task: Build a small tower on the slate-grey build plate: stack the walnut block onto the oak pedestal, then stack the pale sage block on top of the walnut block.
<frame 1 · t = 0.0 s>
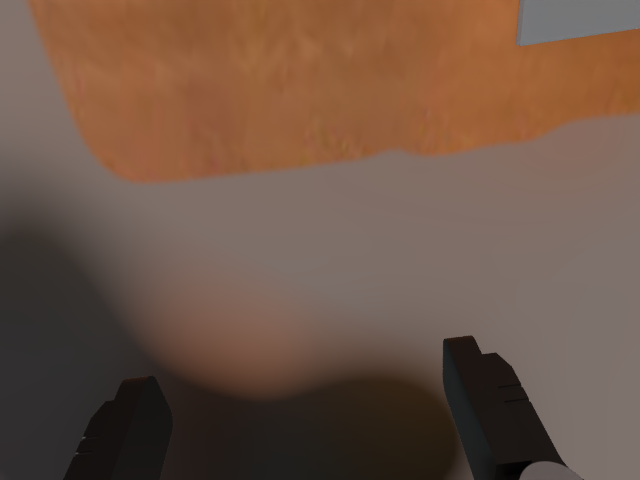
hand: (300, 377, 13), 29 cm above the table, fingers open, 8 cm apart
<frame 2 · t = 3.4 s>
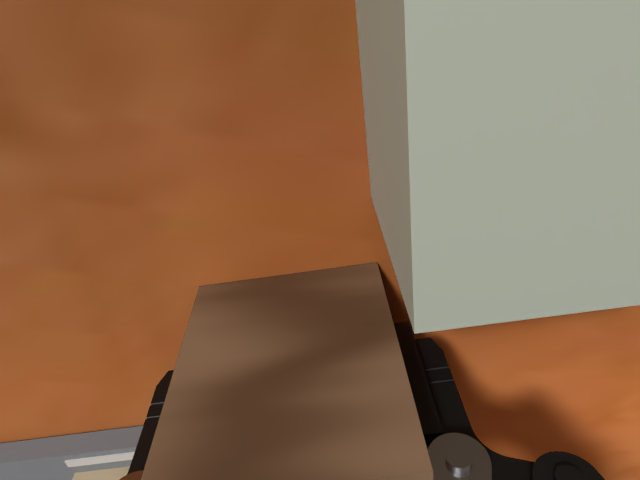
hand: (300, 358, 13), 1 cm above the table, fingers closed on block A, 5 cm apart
block A: (301, 339, 14), on the table, touching gripper
block B: (473, 81, 10), on the table
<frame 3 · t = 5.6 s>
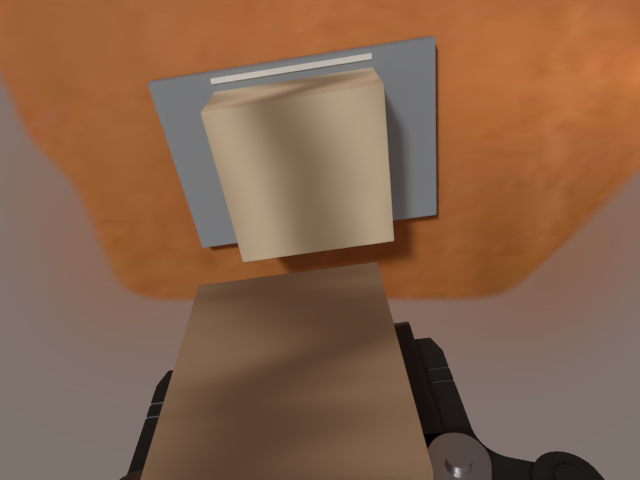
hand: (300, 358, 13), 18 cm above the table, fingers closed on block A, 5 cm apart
pedestal: (305, 155, 28), resting on build plate
block A: (301, 339, 14), point 17 cm above the table, touching gripper
build plate: (305, 150, 28), on the table
when the fingers open (7 cm above the table, at t = 8.0 s): block A drops 1 cm, resting on pedestal.
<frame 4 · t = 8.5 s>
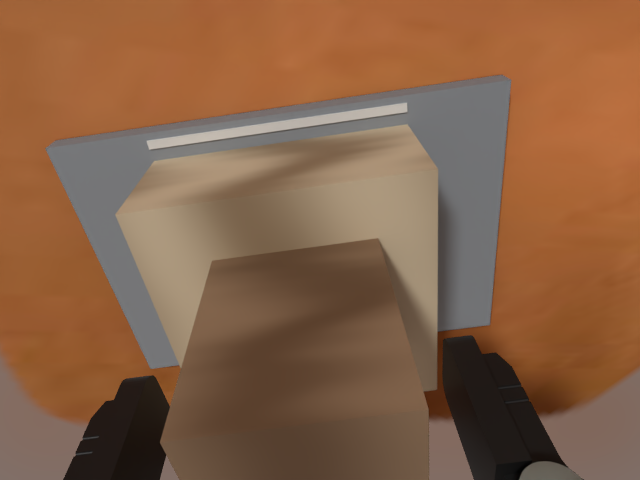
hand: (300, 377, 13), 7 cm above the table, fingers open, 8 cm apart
pedestal: (299, 249, 18), resting on build plate
block A: (306, 313, 15), point 5 cm above the table, touching pedestal
build plate: (299, 239, 19), on the table
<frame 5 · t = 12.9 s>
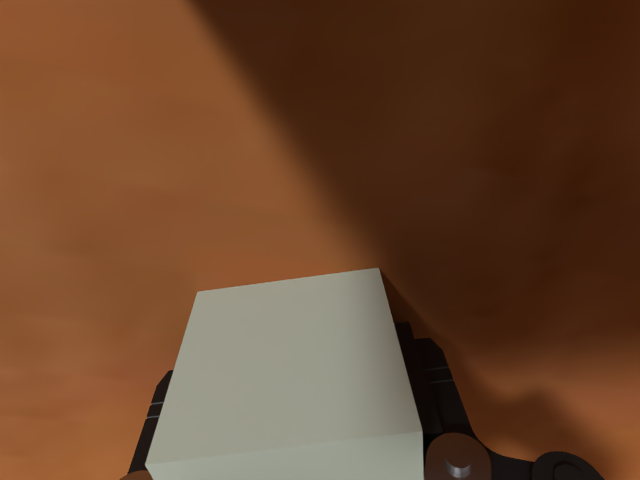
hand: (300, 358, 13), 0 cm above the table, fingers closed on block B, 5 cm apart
block B: (301, 345, 14), on the table, touching gripper
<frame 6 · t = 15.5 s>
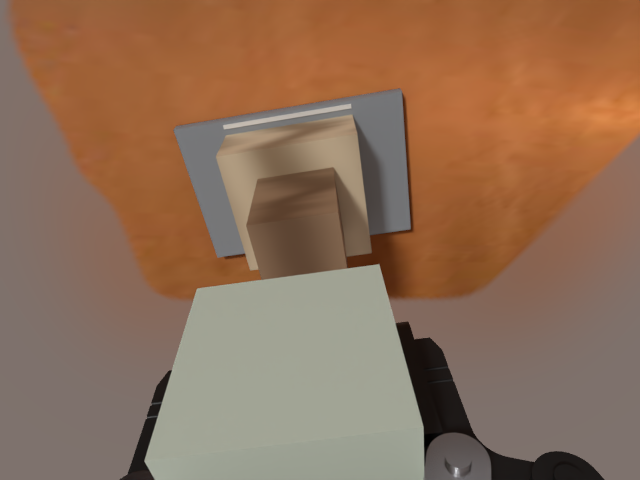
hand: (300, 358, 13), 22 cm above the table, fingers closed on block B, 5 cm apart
pedestal: (300, 182, 34), resting on build plate
block A: (302, 206, 30), point 5 cm above the table, touching pedestal
block B: (301, 342, 14), point 22 cm above the table, touching gripper
build plate: (300, 178, 35), on the table
when the fingers open (12 cm above the table, at t = 18.4 s): block B drops 1 cm, resting on block A.
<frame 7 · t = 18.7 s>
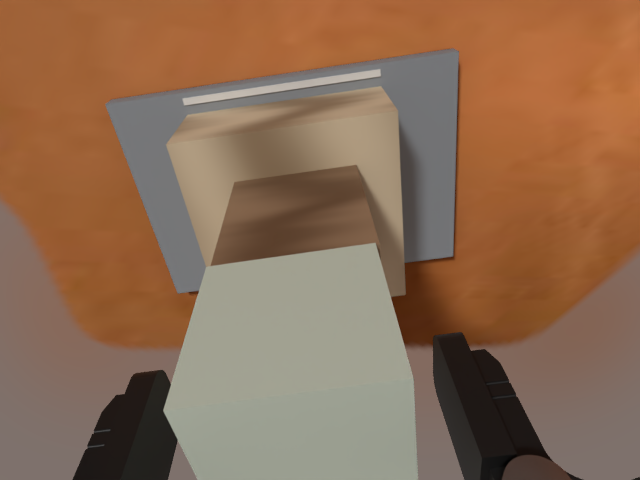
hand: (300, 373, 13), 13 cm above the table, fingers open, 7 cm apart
pedestal: (299, 188, 23), resting on build plate
block A: (304, 226, 20), point 5 cm above the table, touching block B, pedestal
block B: (303, 318, 14), point 11 cm above the table, touching block A
build plate: (298, 182, 24), on the table
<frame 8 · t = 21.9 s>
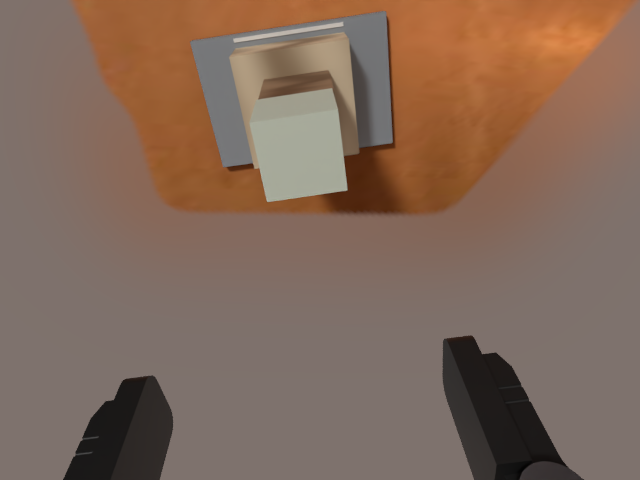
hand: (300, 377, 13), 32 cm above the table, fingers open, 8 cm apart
pedestal: (298, 95, 39), resting on build plate
block A: (301, 107, 36), point 5 cm above the table, touching block B, pedestal
block B: (300, 131, 31), point 11 cm above the table, touching block A
build plate: (298, 93, 40), on the table
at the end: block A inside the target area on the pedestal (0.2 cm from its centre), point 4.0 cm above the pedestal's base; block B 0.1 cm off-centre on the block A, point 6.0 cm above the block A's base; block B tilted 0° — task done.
